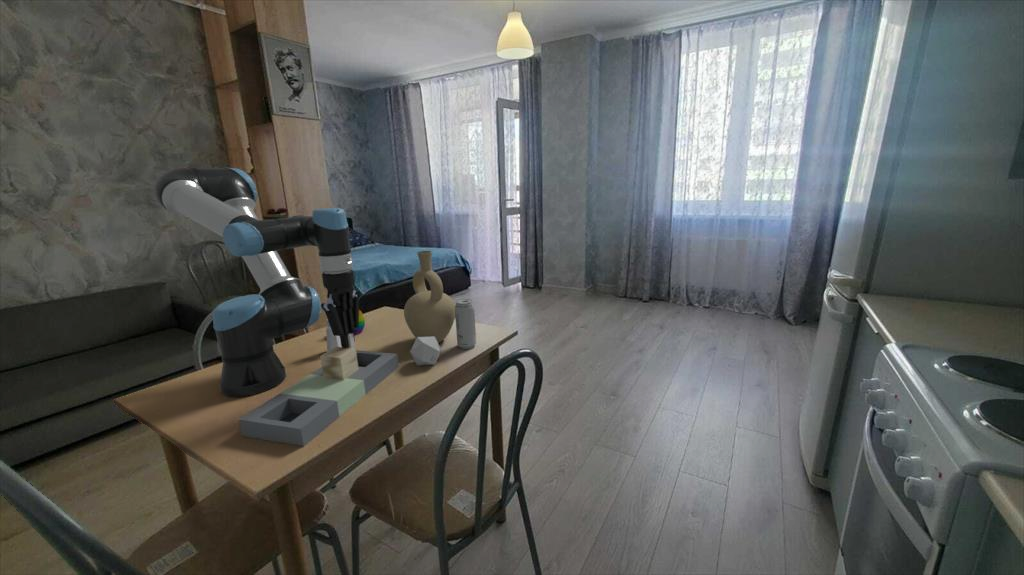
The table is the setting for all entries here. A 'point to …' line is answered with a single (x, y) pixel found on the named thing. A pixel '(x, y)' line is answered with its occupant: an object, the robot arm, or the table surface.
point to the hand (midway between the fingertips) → (350, 356)
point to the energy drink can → (465, 323)
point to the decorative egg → (360, 323)
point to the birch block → (339, 363)
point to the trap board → (315, 401)
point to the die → (425, 350)
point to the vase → (429, 303)
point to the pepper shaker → (332, 338)
